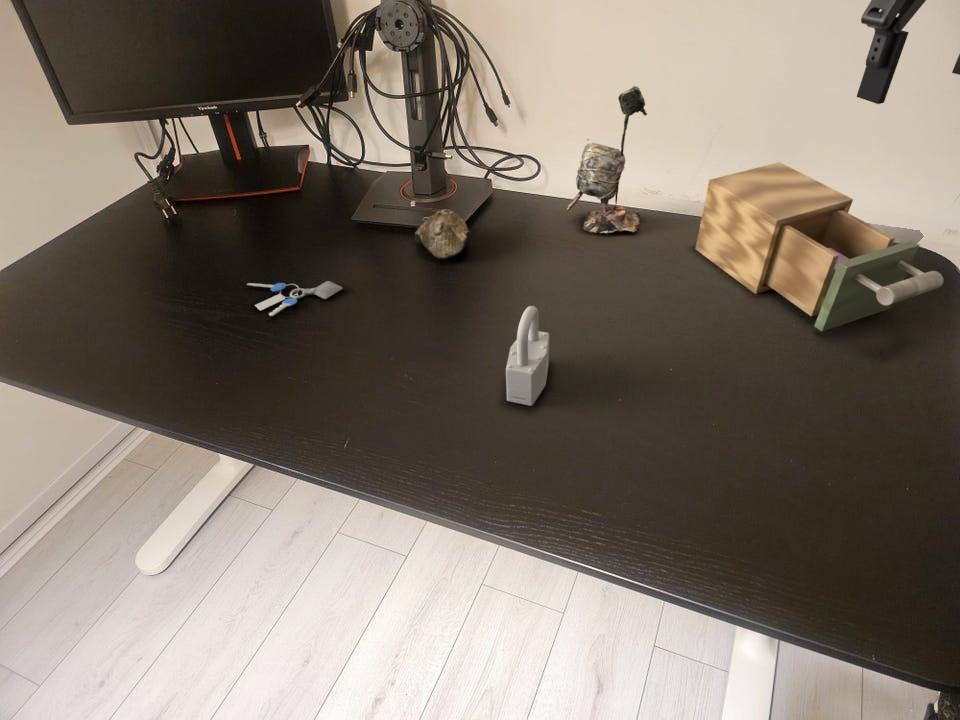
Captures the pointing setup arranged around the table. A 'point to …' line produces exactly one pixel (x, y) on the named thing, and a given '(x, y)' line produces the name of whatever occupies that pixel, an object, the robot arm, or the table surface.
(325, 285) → the key chain
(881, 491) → the table surface
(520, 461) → the table surface
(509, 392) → the padlock
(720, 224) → the wooden drawer box
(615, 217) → the metal wire sculpture
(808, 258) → the pull-out drawer
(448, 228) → the fossilized seashell
